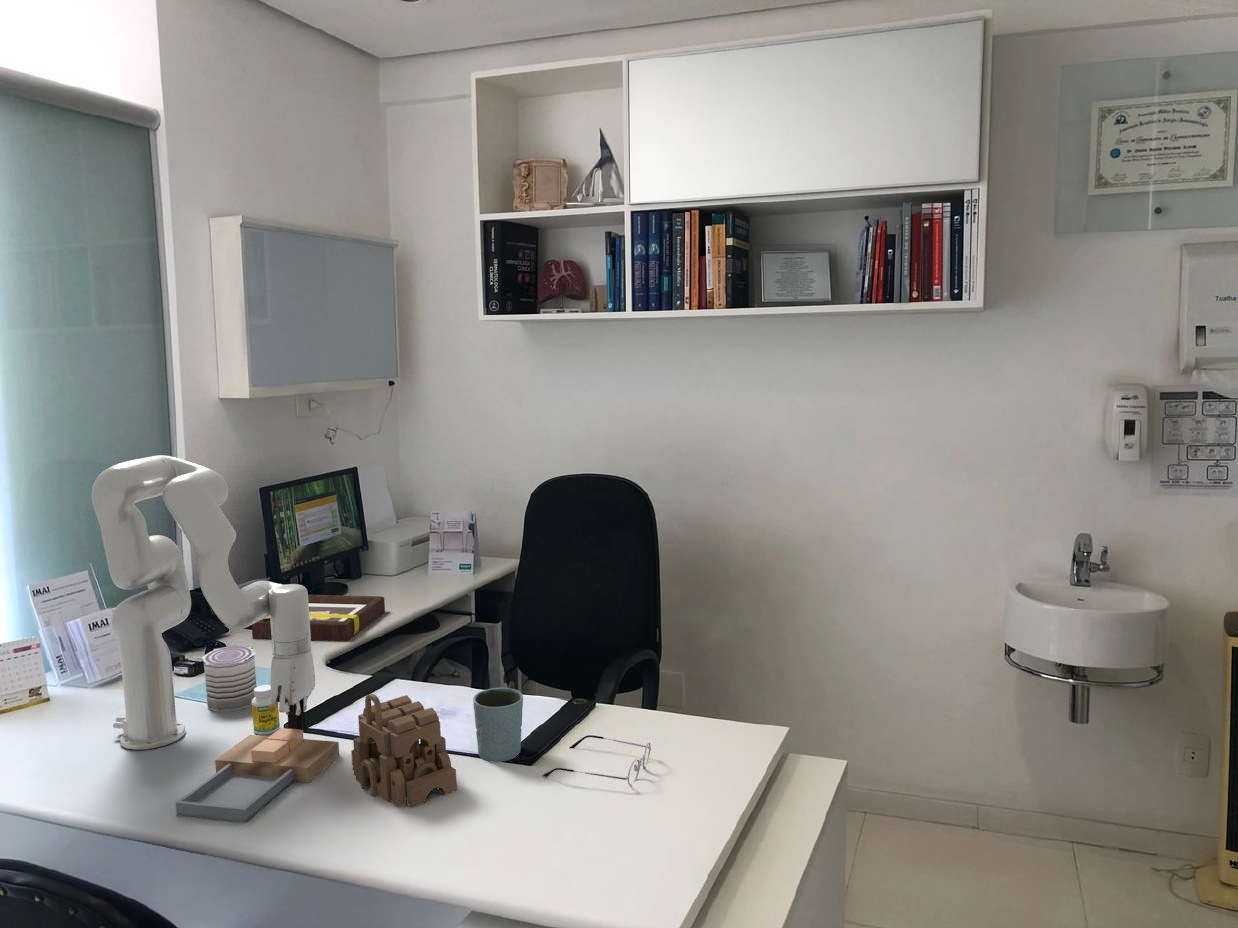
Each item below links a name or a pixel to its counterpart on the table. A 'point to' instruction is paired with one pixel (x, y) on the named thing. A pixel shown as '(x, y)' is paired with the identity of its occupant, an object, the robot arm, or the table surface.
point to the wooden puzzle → (401, 752)
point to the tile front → (270, 751)
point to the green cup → (498, 723)
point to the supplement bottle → (264, 711)
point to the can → (230, 678)
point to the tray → (232, 795)
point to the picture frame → (333, 617)
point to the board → (281, 759)
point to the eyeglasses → (637, 768)
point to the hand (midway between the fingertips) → (297, 730)
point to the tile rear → (288, 736)
